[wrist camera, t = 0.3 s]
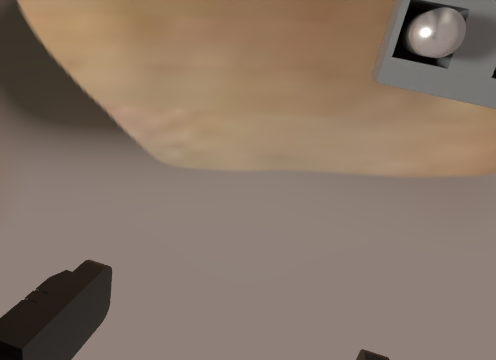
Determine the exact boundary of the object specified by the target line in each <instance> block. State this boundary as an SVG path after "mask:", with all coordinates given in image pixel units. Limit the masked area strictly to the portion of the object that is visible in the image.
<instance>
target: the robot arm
mask: <svg viewBox="0 0 496 360" xmlns="http://www.w3.org/2000/svg"><path fill="white" fill-rule="evenodd" d="M111 281H112V268H111V267H110V266H108V265H104V264H101V263H98V262H95V261H92V260H86V261H85V262H83V263H82V264H81V265H80V266H79V267H78V268H77V269H75V270H74V271H73V272H71V271H68V270H65V271H63V272H61V273H58V274H56V275H54V276H52V277H50V278H48V279H47V280H46V281H45V282H43V283H42V284H41V285H40V286H38V287H37V288H36V290H35V291H32V292H31V293H30V294H29V295H28V296H27V297H25V299H24V300H21V301H20V302H19V303H18V304H17V305H15V306H14V307H13V308H12V309H11V310H9V311H8V312H7V313H6V314H5V315H3V317H1V318H0V360H71V359H72V358H73V357H74V356H75V354H76V353H77V352H78V351H79V350H80V348H81V347H82V346H83V345H84V344H85V342H86V341H87V340H88V339H89V338H90V336H91V335H92V334H93V333H94V332H95V330H96V329H97V328H98V327H99V326H100V324H101V323H102V322H103V320H104V318H105V317H106V315H107V312H108V310H109V306H110V296H111ZM356 360H389V358H388V357H385V356H382V355H379V354H376V353H373V352H370V351H367V350H364V349H362V350H361V351H360V353H359V355H358V357H357V359H356Z"/></svg>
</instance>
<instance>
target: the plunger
mask: <svg viewBox="0 0 496 360" xmlns="http://www.w3.org/2000/svg"><path fill="white" fill-rule="evenodd" d="M465 33H466V24H465V20H464V18H463V17H462V15H461V14H460V13H459V12H458V11H456V10H454V9H452V8H446V7H442V8H437V9H434V10H431V11H428V12H425V13H422V14H419V15H417V16H415V17H413V18H412V19H411V20H409V21H408V23H407V24H406V25H405V27H404V29H403V32H402V42H403V45H404V47H405V48H406V50H407V51H409V52H410V53H412V54H415V55H420V56H426V57H432V58H440V57H444V56H447V55H449V54H451V53H453V52H454V51H455V50H456V49H457V48H458V47H459V46H460V45H461V43H462V42H463V40H464V37H465Z"/></svg>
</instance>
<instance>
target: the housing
mask: <svg viewBox="0 0 496 360" xmlns="http://www.w3.org/2000/svg"><path fill="white" fill-rule="evenodd" d="M408 6H411V7H416V8H421V9H426V10H434V9H437V8H442V7H446V8H452V9H454V10H456V11H458V12H459V13H460V14H461V15H462V17H463V18H464V20H465V24H466V33H465V37H464V40H463V42H462V43H461V45H460V46H459V47H458V48H457V49H456V50H455V51H454V52H453V53H451V54H449V55H447V56H444V57H440V58H435V59H434V62H433V65H430V64H425V63H421V62H416V61H411V60H406V59H401V58H397V57H392V55H393V52H394V49H395V46H396V43H397V40H398V37H399V34H400V31H401V27H402V24H403V21H404V18H405V15H406V12H407V9H408ZM495 68H496V0H395V3H394V6H393V9H392V12H391V16H390V19H389V22H388V25H387V29H386V32H385V35H384V38H383V42H382V45H381V48H380V51H379V55H378V58H377V61H376V64H375V68H374V71H373V74H372V78H373V79H374V81H375V82H376V83H380V84H384V85H389V86H393V87H398V88H402V89H407V90H411V91H416V92H421V93H425V94H430V95H434V96H439V97H443V98H448V99H452V100H457V101H461V102H466V103H470V104H475V105H480V106H484V107H489V108H493V109H496V78H492V75H493V73H494V70H495Z"/></svg>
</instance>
